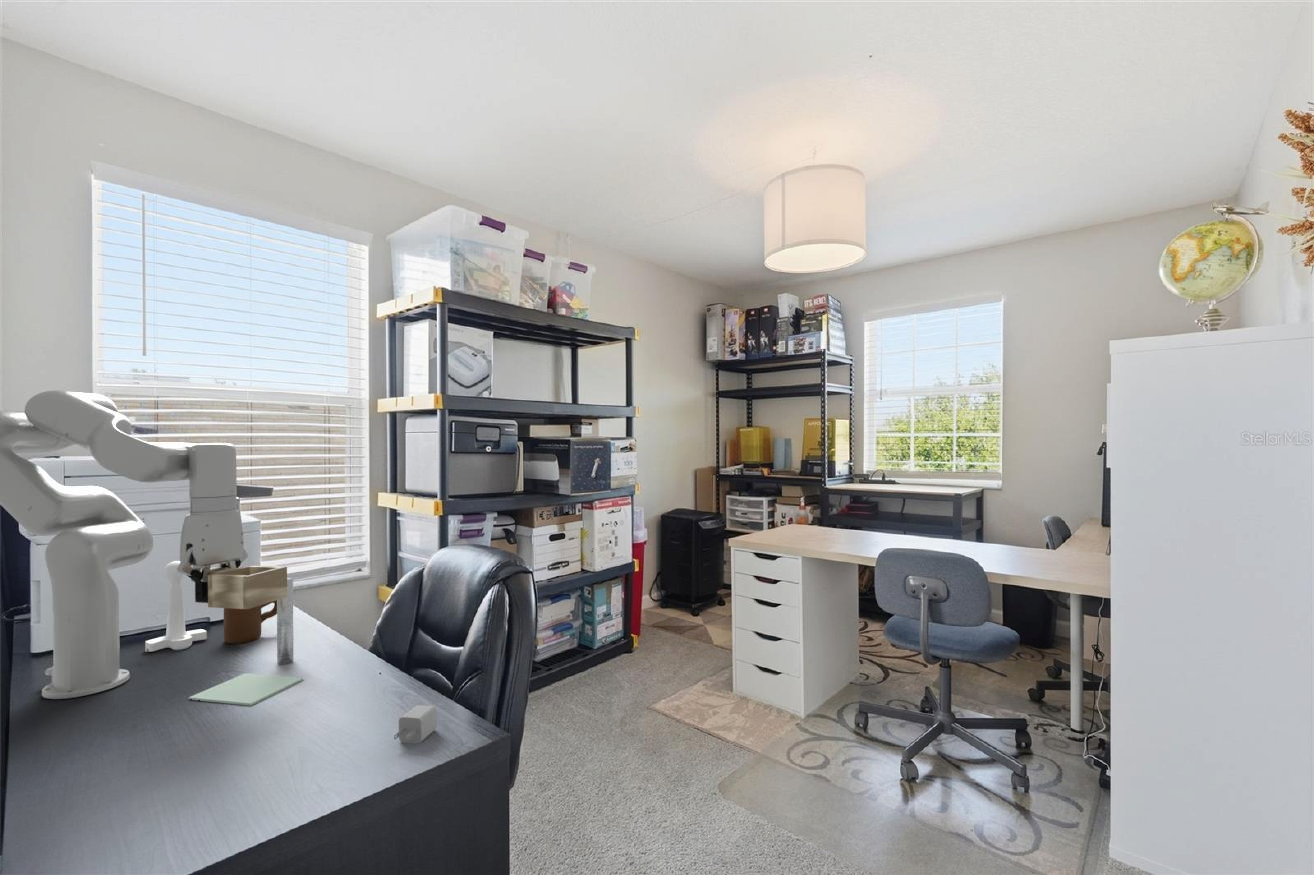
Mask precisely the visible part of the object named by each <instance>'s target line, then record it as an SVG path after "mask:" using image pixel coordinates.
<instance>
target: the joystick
mask: <svg viewBox="0 0 1314 875" xmlns="http://www.w3.org/2000/svg"><path fill="white" fill-rule="evenodd" d="M179 564H180V560H173V561H170V562H169V563H167V564H166V565H165V566H164V569H163V575H164V576H165V578H166V579H168V582H169V585H168V600H167V617H166V628H165V629H166V633H165V635H163V636H159V637H155V638H152V639H148V640H145V644H144V645H145V652H146V653H149V652H151V653H152V652H155V651H158V650H163V649H165V648H166V649H167V648H170V649H172V650H174V651H180V650H181V651H182V650H185V649H188V648H190V646H192V645H193V642H196V641H202V640H206V639H207V638H208V636H207V635H208V634H207V633H208V632H207V630H205V629H202V628H200V629H192V630H187V631H186V619H185V618H186V617H185V606H184V592H183V579H184V577H185V576H187V575H186V574H183V573H181V572H179V571H177V568H178V566H179Z"/></svg>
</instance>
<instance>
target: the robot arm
mask: <svg viewBox="0 0 1314 875" xmlns="http://www.w3.org/2000/svg"><path fill="white" fill-rule="evenodd" d="M132 427H133V426H132V423H131V421H130V419H128V417H126V416H125V415H124V414H122V413H119V410H118V407H117V405H116V404H115V403H114V402H113V401H112V399H109V398H108V397H106V396H104V395H101V394H98V393H92V392H80V391H70V390H69V391H68V390H48V391H47V390H46V391H42V392H40V393H39V392H38V393H37V394H35V395H33V396H32V397H31V398H29V399H28V400H27V401H26V403H25V405H24V411H23V410H22V411H21V410H20V411H19V410H18V411H17V410H0V506H1V507H3V509H5V511H6V512H8V513H9V515H10V516H12V517H13V519H15V521H16V522H17V523H18V524H20V525H21V526H22V528H24V529H25V530H26V531H27V532H29V533H30V534H32V535H34V536H38V537H50V536H54V537H53V538H52V539H51V540H50V541H49V542H48V543H47V546H46V548H45V552H44V557H45V563H46V567H47V568H46V569H47V571H48V574H49V578H50V583H51V590H52V591H51V592H52V613H53V614H52V616H53V618H52V620H53V622H52V623H53V624H52V629H53V633H52V634H53V638H52V639H53V643H52V644H53V645H52V646H53V650H52V651H53V652H52V654H53V656H52V658H53V660H52V661H53V666H51V667H48V668H47V669H45V670H44V675H46V676H51V683H49V684H47V685H45V686H44V687H43V688H42V689H41V697H42V698H44V699H49V700H62V699H65V700H66V699H73V698H80V697H84V696H89V695H93V694H97V693H101V692H105V691H107V690H110V689H113V688H114V689H115V688H117V687H118V686H121V685H123V684H124V683H126V682H127V681H128V680H129V679H130V675H131V674H130V671H129V670H128V669H124V668H120V593H119V588H118V585H117V584H116V582H115V580H114V578H113V577H112V576H111V575H110V572H109V571H111V570H114V569H120V568H124V567H128V566H132V565H135V564H137V563H139V562H142V561H144V560H145V559H147V557H149V555H150V554H151V552H152V551H153V548H154V537H153V535H152V532H151V531H150V529H149V528H148V527H147V525H146V524H145V523H144V522H143V521H142V520H141V519H140V518H139V517H138V516H137V515H136V514H135V513H134V511H132V510H131V509H130V508H129V507H128V506H127V505H126V504H125V503H124V502H123V501H122V499H120V498H119V497H118V496H117V495H116V494H115V493H113V492H111V491H110V490H108V489H106V488H104V487H101V486H97V485H96V486H95V485H76V486H75V485H74V486H67V485H62V484H60V483H58V482H57V481H56V480H54V479H53V478H52V477H51V476H50V475H49V474H48V473H47V472H46V471H45V469H43V468H41V466H39V465H37V464H36V463H34V462H32V461H30V460H28V459H26V458H24V457H21V456H20V455H18V454H22V453H24V454H25V453H26V454H27V453H28V454H29V453H31V454H33V453H34V454H35V453H41V454H42V453H50V452H57V451H59V450H60V451H61V450H63V449H67V448H69V447H72V446H74V445H76V446H78V447H81V448H83V449H86V450H88V451H90V454H91V456H92V458H93V459H94V460H95V461H96V463H97V464H98V465H99V466H100V467H102V468H104V469H106V470H107V471H110V472H112V473H114V474H117V475H119V476H121V477H125V478H126V479H128V480H132V481H136V482H140V483H149V484H150V483H159V482H160V483H161V482H162V483H163V482H177V481H180V482H181V481H188V483H189V489H188V490H189V514H186V515H185V516H184V519H183V523H182V527H181V534H180V543H179V544H180V545H179V546H180V547H179V561H180V564H179V566H178V568H177V571H179V572H181V573H183V574H186V575H185V576H187V577H188V578H189V579H190V580H191V582H192V583H193V582H194V601H195V600H196V602H208V575H209V573H210V568H212V567H211V566H213V565H217V564H218V568H240V566H241V564H242V563H243V562H244V561H245V560H246V559H247V558H248V556H249V555H248V552H247V551H246V550H245V548H244V547H245V543H244V542H245V541H244V540H245V539H244V529H243V524H242V517H241V514H240V511H239V510H238V507H237V506H238V504H239V503H240V501H241V500H240V497H238V493H237V491H238V490H237V488H238V487H237V486H238V484H237V483H238V482H237V481H238V480H237V476H238V475H237V450H236V447H235V445H233V444H232V443H227V442H224V443H223V442H204V443H202V442H201V443H191V442H149V441H145V440H143V439H142V440H141V439H140V438H137V437H134V436H132V435H131V434H132V429H133V428H132ZM201 570H202V573H201V572H200V571H201Z"/></svg>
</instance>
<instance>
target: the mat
mask: <svg viewBox="0 0 1314 875" xmlns="http://www.w3.org/2000/svg"><path fill="white" fill-rule="evenodd" d="M302 680H303V681H304V678H303V677H295V676H294V677H293V676H285V675H283V676H281V675H270V674H259V673H258V674H257V673H249V672H248V673H246V672H245V673H243V674H240V675H238V676H236V677H234V678H231V679H229V680H226V681H224V682H222V683H219V684H217V685H215V686H212V687H209V688H208V689H205V690H203V691H200V692H198V693H195V694H194V695H191V696H189V697H188V700H189V699H192V700H191V701H198V700H200V701H199V702H211V703H219V704H229V705H230V704H231V705H239V706H249V707H252V706H254V705H255V704H257V703H260V702H262V701H264V700H266V699H268V698H270V697H272V696H274V695H276V694H278V693H280V692H282V691H284V690H286V689H289V688H290V687H292V686H294V685H296V684H298V683H300V682H302Z"/></svg>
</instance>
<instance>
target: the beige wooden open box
mask: <svg viewBox="0 0 1314 875" xmlns="http://www.w3.org/2000/svg"><path fill="white" fill-rule="evenodd" d="M200 572H201V573H202V569H201V571H200ZM287 578H288V567H287V566H278V565H276V566H275V565H274V566H273V565H247V566H246V565H245V566H242V567H238V568H219V566H218V567H215V566H214V567H210V573H209V575H208V602H196V600H195V599H194V603H196V604H198V603H202V604H207V607H208V608H215V609H219V608H220V609H224V608H233V609H250V608H253V607H256V606H260V605H263V604H266V603H269V602H272V601H276V600H279V599H282V598H285V597H287Z"/></svg>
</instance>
